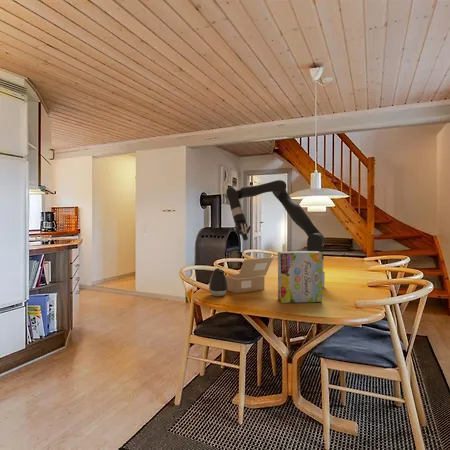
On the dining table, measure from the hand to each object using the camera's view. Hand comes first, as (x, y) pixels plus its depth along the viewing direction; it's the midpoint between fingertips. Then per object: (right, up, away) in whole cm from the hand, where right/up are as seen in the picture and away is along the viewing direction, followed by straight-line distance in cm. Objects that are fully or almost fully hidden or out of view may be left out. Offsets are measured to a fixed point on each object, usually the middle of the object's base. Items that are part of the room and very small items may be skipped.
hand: (245, 240), depth 209 cm
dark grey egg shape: (-17, -30, -25) cm, 43 cm away
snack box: (+26, -30, -36) cm, 54 cm away
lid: (+4, -15, -20) cm, 25 cm away
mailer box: (-2, -29, -10) cm, 31 cm away
